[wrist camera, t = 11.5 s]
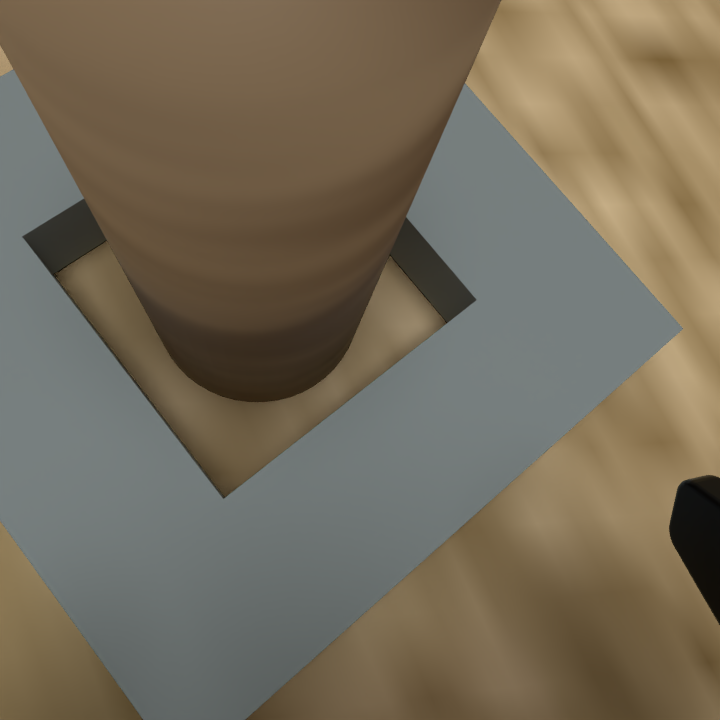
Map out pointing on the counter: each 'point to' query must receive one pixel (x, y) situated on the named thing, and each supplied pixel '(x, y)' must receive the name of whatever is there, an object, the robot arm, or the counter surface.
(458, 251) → the frame
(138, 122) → the walnut peg
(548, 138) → the counter surface
